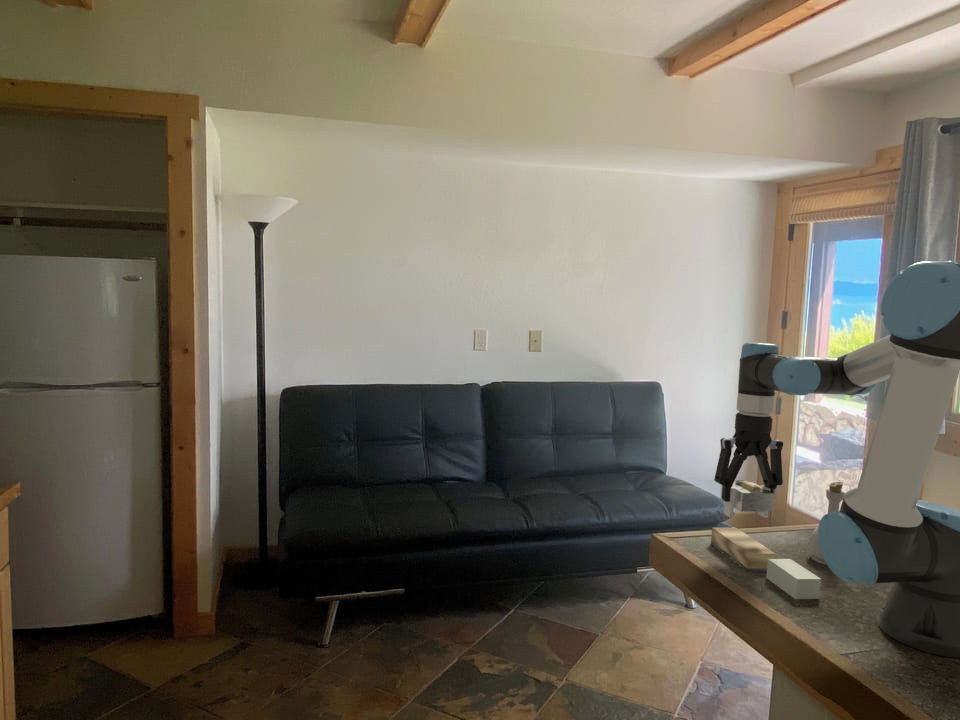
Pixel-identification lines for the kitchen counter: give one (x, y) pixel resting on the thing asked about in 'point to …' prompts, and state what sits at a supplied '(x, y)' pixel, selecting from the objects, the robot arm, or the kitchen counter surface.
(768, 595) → the kitchen counter surface
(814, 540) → the potion bottle
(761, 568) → the plane body
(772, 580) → the block
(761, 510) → the lever cap
